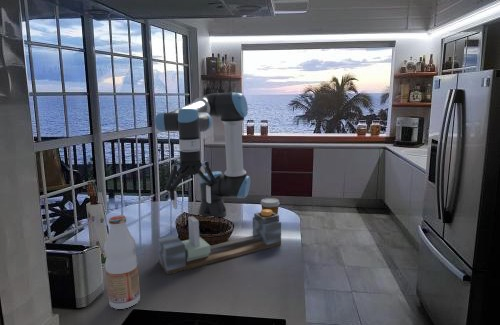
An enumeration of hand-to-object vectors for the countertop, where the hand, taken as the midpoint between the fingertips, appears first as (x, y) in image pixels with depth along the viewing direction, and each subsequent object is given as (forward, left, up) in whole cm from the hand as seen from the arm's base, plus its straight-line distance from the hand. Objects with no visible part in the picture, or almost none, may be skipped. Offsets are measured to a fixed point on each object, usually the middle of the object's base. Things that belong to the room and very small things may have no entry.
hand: (192, 205), depth 139 cm
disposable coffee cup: (-18, +47, -23) cm, 55 cm away
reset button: (0, +34, -11) cm, 35 cm away
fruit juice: (+16, -30, -23) cm, 41 cm away
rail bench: (0, +12, -23) cm, 26 cm away
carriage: (0, 0, -21) cm, 21 cm away
